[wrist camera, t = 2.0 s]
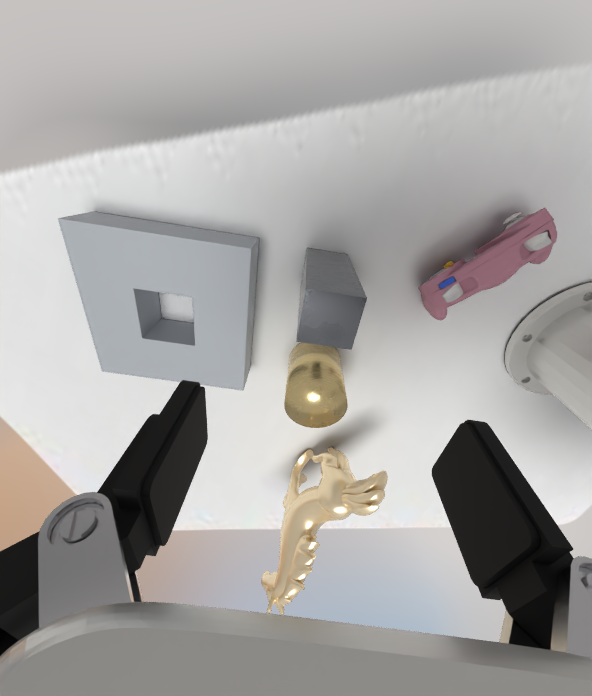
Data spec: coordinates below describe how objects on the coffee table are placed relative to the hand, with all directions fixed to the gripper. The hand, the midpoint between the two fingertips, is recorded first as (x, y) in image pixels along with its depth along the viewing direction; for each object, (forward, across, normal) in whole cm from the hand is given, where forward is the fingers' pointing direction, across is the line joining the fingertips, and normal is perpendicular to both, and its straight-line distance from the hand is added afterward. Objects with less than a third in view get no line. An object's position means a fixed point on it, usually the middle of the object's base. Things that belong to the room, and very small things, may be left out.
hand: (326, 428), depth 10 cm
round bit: (+18, -1, +10) cm, 21 cm away
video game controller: (+19, -13, -3) cm, 23 cm away
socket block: (+18, +13, +4) cm, 22 cm away
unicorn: (+18, -4, +25) cm, 31 cm away
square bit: (+18, 0, 0) cm, 18 cm away
